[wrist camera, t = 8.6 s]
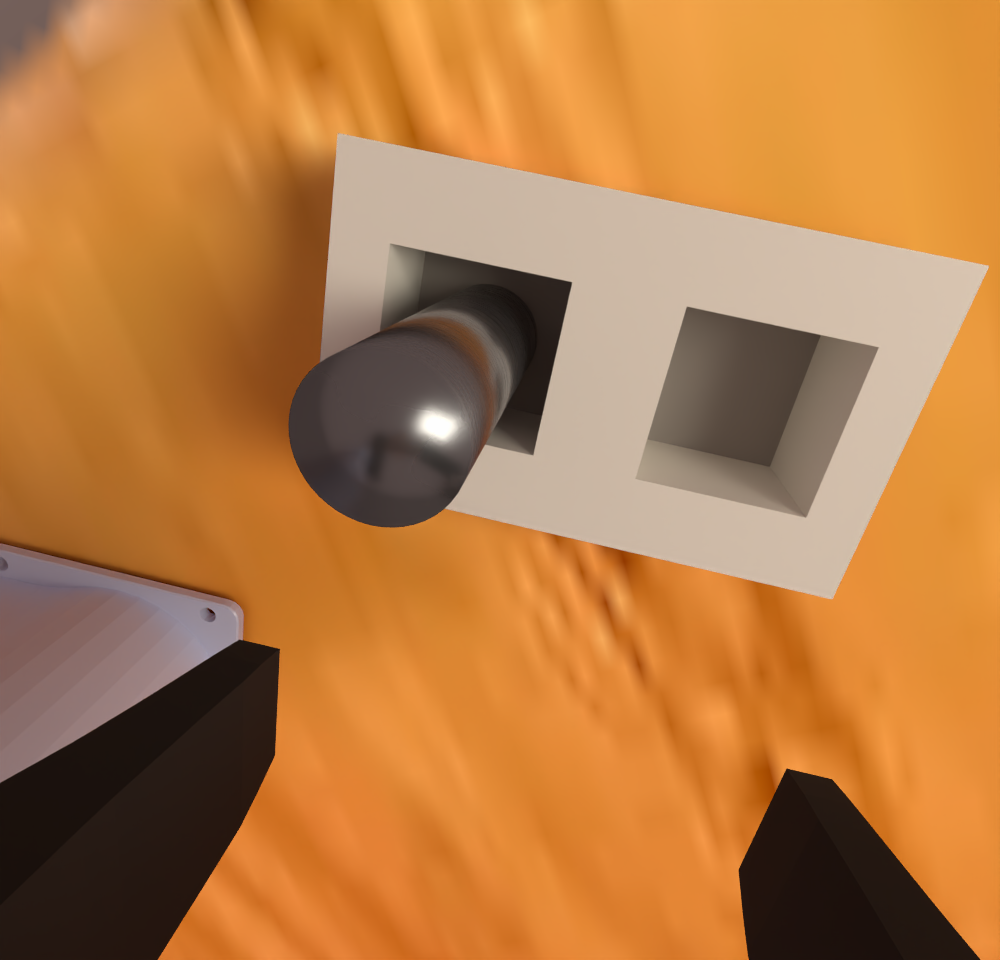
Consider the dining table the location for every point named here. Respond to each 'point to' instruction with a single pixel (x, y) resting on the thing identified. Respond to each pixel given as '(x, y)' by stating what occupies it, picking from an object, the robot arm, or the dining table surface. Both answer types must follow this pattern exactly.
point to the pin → (411, 406)
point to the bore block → (659, 357)
